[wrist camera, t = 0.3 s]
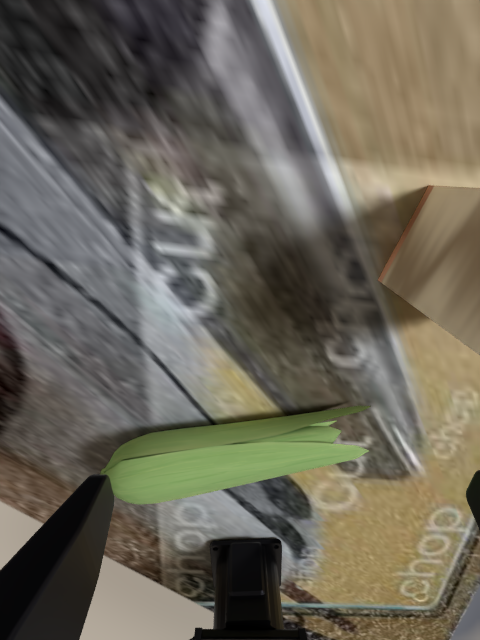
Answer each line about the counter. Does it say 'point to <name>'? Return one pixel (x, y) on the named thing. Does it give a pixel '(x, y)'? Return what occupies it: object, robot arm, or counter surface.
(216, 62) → the counter surface
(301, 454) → the edible corn
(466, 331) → the marked block
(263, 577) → the robot arm
